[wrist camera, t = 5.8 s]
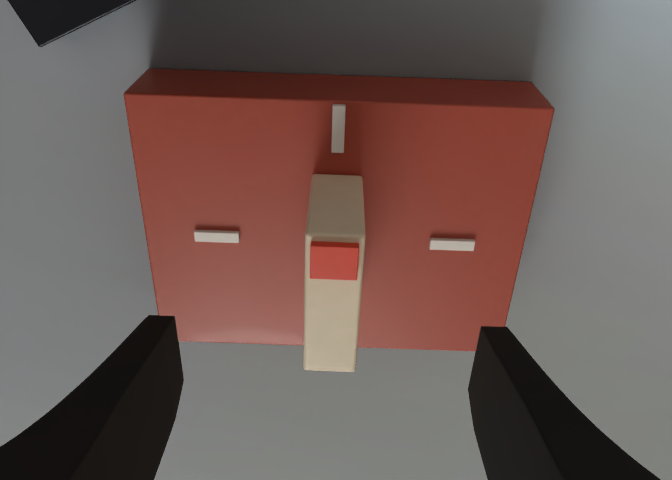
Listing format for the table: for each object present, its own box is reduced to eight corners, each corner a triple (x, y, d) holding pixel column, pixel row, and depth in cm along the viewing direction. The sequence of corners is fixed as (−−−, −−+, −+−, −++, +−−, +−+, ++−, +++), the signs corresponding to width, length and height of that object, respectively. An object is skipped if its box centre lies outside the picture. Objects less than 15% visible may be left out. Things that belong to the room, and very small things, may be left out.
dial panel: (178, 298, 23) (160, 344, 21) (148, 67, 19) (120, 94, 17) (485, 309, 24) (500, 356, 21) (532, 81, 19) (557, 110, 17)
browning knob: (354, 299, 20) (355, 379, 17) (309, 297, 20) (302, 377, 17) (362, 174, 18) (366, 241, 15) (311, 172, 18) (304, 238, 15)
